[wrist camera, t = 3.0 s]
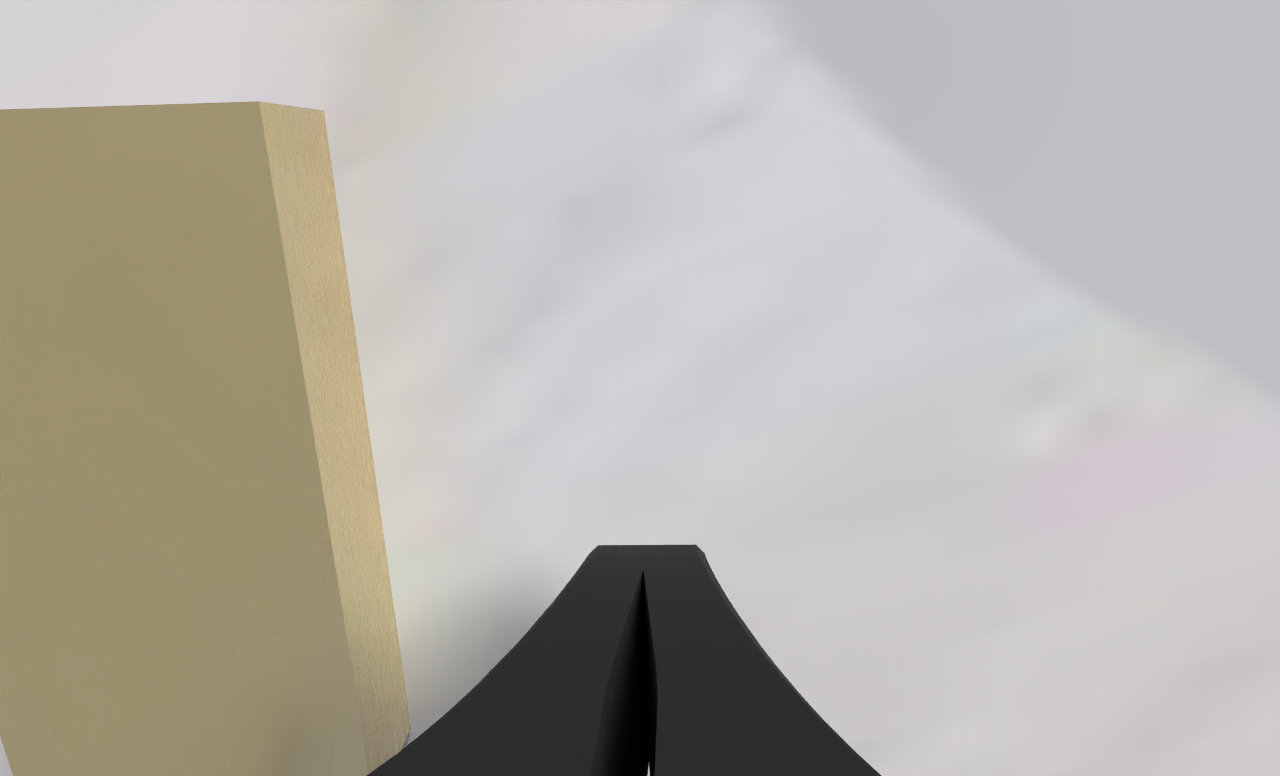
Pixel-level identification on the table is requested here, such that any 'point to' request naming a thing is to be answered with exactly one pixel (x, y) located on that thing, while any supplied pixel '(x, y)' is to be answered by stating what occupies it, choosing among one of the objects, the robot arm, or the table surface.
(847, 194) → the table surface
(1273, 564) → the table surface
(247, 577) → the loose hinge leaf
